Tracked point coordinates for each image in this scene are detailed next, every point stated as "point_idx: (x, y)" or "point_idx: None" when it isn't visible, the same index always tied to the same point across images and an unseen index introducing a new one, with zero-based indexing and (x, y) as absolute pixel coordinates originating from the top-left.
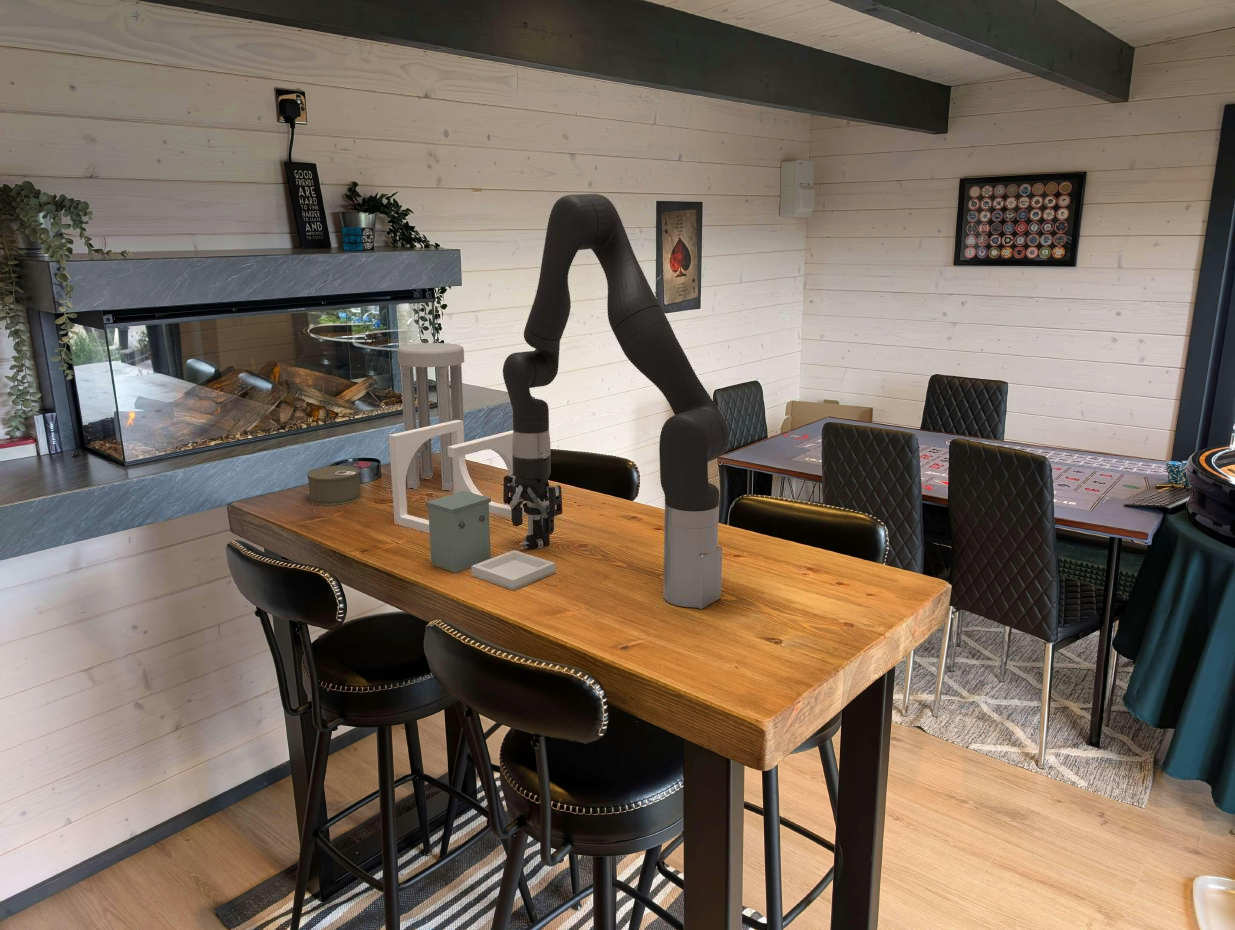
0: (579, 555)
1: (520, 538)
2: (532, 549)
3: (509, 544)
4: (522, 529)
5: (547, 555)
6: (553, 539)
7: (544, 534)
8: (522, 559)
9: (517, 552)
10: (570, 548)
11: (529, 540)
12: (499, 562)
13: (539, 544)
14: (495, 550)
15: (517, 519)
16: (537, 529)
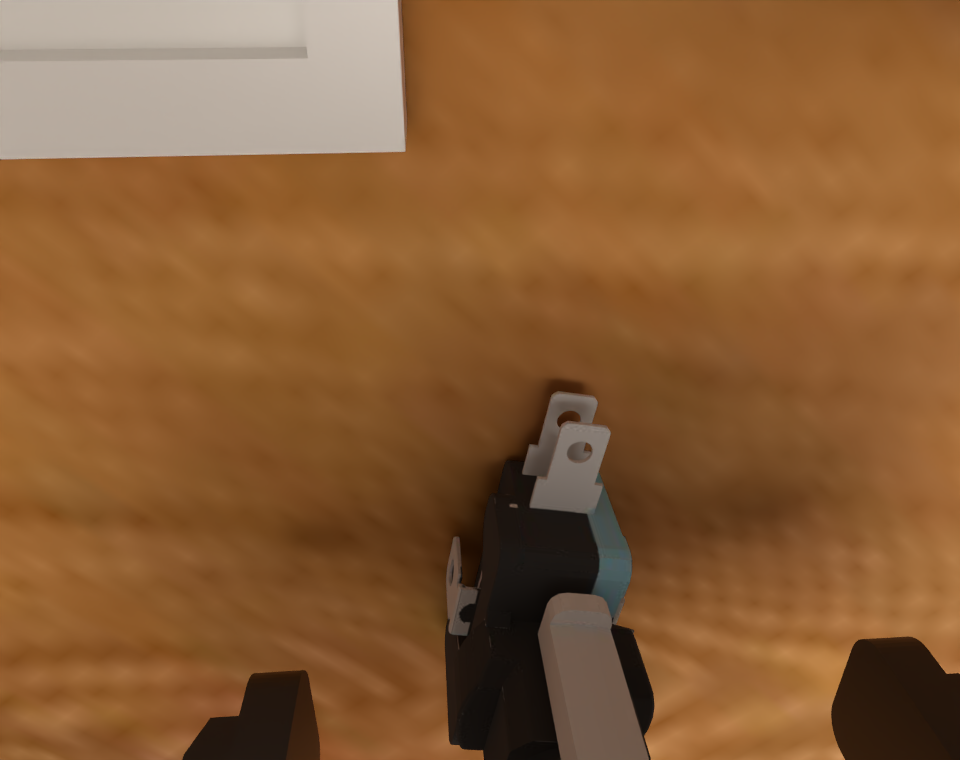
0: (24, 650)
1: (813, 590)
2: (501, 484)
3: (814, 432)
4: None
5: (240, 474)
6: None
7: (268, 678)
8: (120, 52)
9: (268, 102)
10: None
11: (521, 530)
12: None
13: (454, 569)
14: (850, 203)
15: (905, 750)
16: (501, 723)
